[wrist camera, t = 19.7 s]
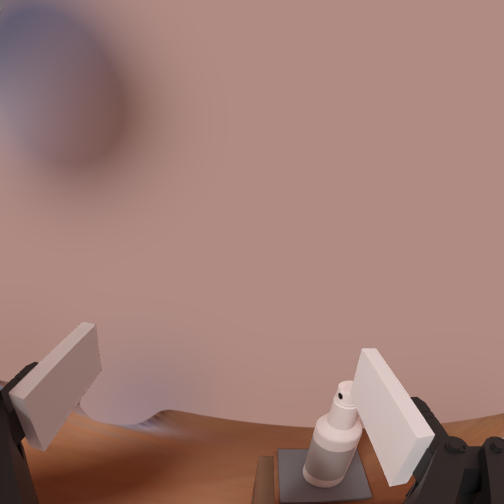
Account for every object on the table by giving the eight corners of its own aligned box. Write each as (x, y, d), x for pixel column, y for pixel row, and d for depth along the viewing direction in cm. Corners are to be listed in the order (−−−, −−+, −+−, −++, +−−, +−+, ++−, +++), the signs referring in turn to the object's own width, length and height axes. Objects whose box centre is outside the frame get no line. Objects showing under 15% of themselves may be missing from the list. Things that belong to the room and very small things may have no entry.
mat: (280, 504, 35) (280, 502, 35) (277, 450, 47) (278, 448, 47) (371, 498, 35) (372, 496, 35) (355, 449, 47) (356, 447, 47)
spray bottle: (293, 468, 42) (314, 381, 39) (327, 454, 45) (352, 369, 42) (317, 494, 36) (348, 409, 33) (352, 477, 39) (386, 392, 36)
